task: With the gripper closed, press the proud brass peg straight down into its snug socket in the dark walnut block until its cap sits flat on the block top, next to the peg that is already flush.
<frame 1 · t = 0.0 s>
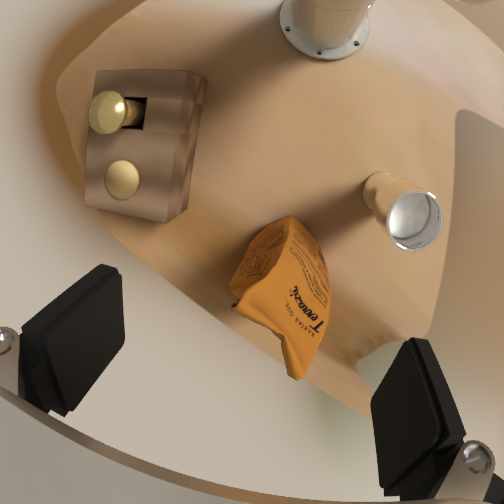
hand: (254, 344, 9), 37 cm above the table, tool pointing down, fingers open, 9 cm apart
walnut block: (153, 139, 44), on the table
brass peg: (122, 112, 33), point 10 cm above the table, slide at 5.0 cm
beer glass: (382, 192, 42), on the table
coffee package: (290, 256, 48), on the table
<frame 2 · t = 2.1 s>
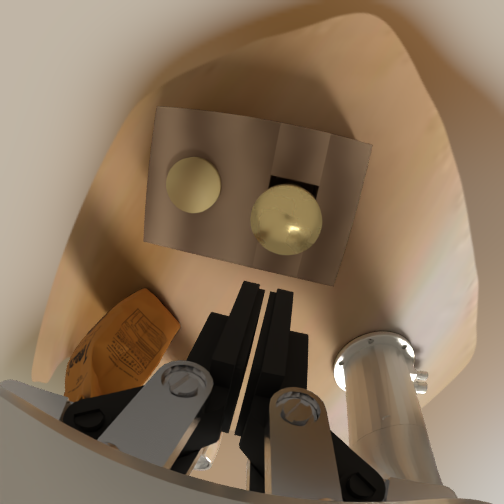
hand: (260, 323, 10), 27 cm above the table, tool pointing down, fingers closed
walnut block: (259, 181, 35), on the table
brass peg: (288, 209, 26), point 10 cm above the table, slide at 5.0 cm
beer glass: (215, 388, 49), on the table
coffee package: (143, 318, 46), on the table
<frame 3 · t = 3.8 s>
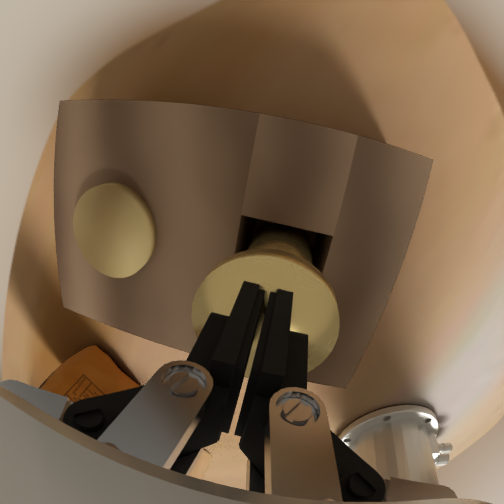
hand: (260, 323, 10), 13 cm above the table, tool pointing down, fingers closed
walnut block: (234, 211, 23), on the table
brass peg: (274, 279, 14), point 9 cm above the table, slide at 4.3 cm, touching gripper
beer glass: (192, 452, 37), on the table
coffee package: (100, 375, 34), on the table
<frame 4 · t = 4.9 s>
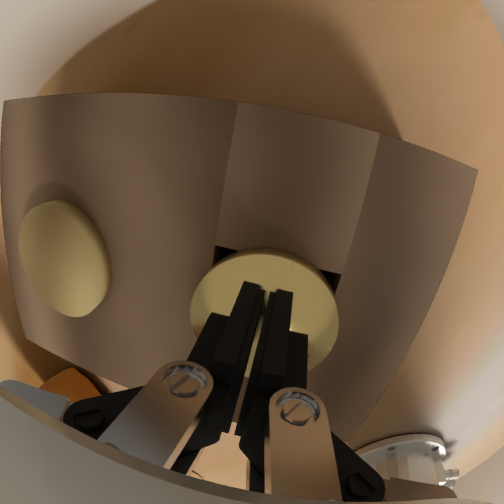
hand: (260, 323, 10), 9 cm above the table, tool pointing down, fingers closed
walnut block: (217, 226, 19), on the table
brass peg: (273, 278, 14), point 5 cm above the table, slide at 0.0 cm, touching gripper
coffee package: (83, 396, 30), on the table
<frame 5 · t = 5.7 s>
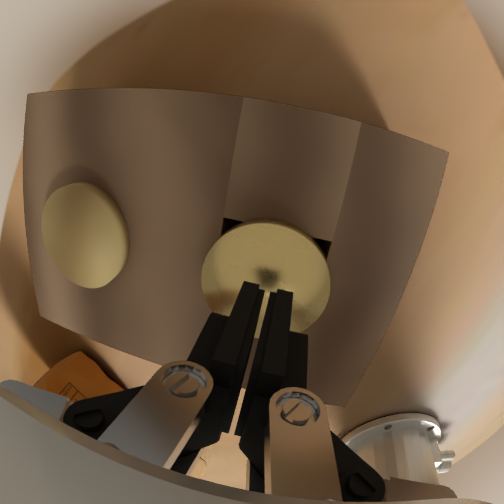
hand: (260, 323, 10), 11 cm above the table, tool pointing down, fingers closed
walnut block: (221, 209, 21), on the table
brass peg: (273, 251, 16), point 5 cm above the table, slide at 0.0 cm
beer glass: (186, 459, 35), on the table
coffee package: (88, 380, 32), on the table
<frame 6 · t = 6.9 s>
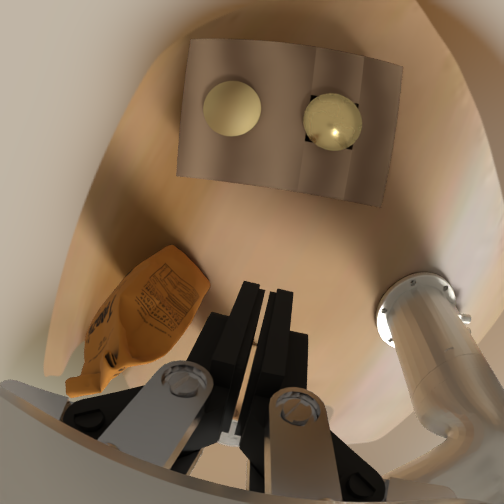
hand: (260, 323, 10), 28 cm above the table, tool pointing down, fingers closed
walnut block: (290, 118, 33), on the table
brass peg: (329, 122, 28), point 5 cm above the table, slide at 0.0 cm
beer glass: (248, 357, 47), on the table
coffee package: (168, 281, 44), on the table
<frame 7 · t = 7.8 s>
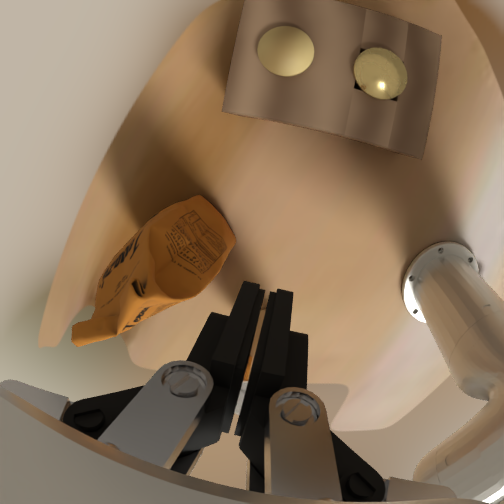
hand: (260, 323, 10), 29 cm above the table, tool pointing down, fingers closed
walnut block: (331, 77, 31), on the table
brass peg: (373, 79, 27), point 5 cm above the table, slide at 0.0 cm
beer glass: (267, 325, 45), on the table
coffee package: (190, 237, 42), on the table
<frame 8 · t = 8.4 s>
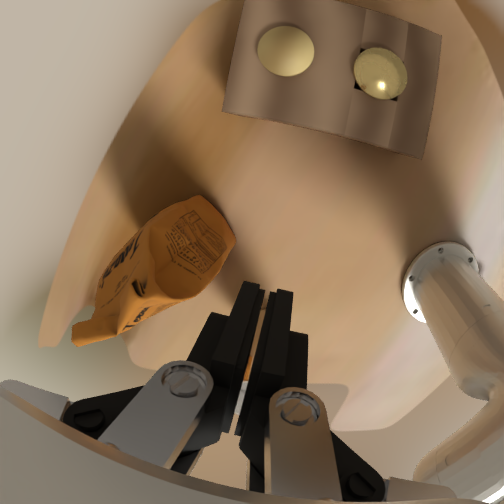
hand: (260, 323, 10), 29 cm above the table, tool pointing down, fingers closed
walnut block: (331, 77, 31), on the table
brass peg: (373, 79, 27), point 5 cm above the table, slide at 0.0 cm
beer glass: (267, 325, 45), on the table
coffee package: (190, 237, 42), on the table
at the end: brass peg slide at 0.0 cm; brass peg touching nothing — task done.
